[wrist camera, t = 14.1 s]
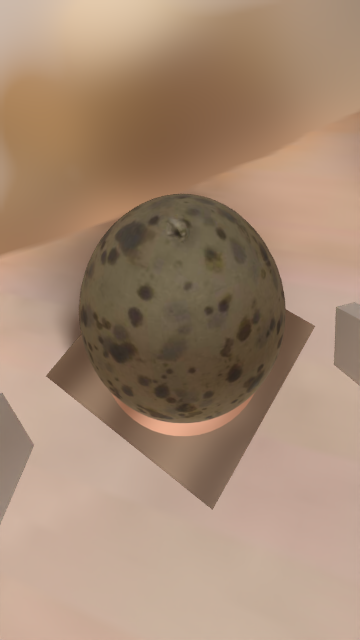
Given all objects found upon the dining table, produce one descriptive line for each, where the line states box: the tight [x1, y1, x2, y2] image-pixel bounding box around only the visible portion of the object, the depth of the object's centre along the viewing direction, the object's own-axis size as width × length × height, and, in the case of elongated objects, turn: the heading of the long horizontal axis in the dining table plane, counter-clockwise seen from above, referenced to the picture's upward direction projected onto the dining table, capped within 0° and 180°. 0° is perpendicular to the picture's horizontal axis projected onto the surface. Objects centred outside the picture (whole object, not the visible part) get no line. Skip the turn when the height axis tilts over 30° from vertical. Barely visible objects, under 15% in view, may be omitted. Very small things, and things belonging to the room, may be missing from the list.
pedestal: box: [46, 309, 315, 510], centre depth 26 cm, size 16×16×8 cm
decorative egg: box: [79, 194, 286, 423], centre depth 15 cm, size 11×11×15 cm
